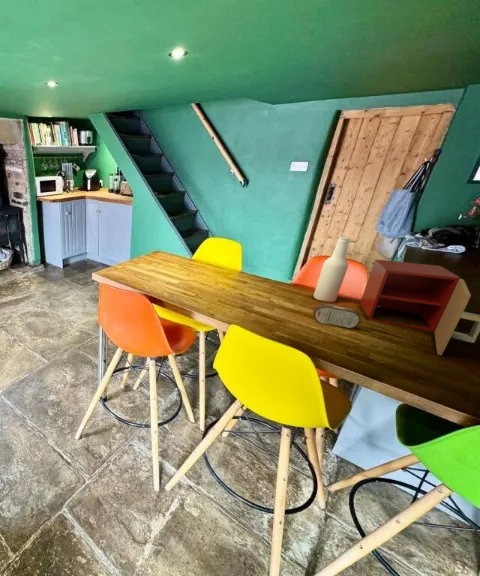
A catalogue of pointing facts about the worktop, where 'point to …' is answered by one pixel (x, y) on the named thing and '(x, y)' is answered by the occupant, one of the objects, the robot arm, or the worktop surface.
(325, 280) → the alcohol
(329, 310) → the tin
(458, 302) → the door
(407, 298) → the red cabinet
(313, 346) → the worktop surface
